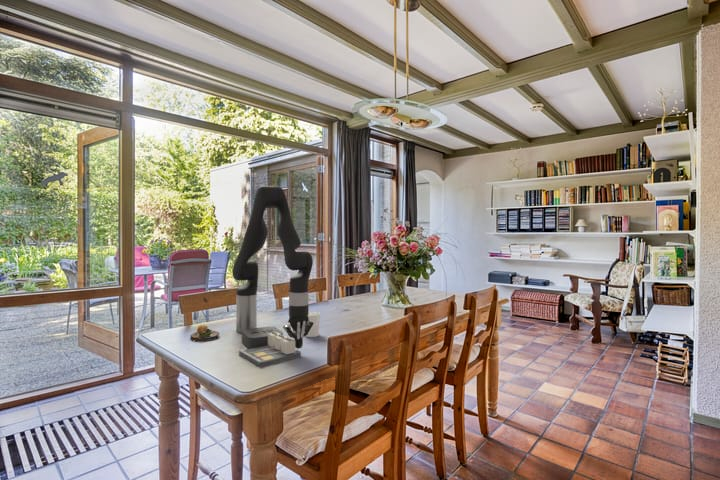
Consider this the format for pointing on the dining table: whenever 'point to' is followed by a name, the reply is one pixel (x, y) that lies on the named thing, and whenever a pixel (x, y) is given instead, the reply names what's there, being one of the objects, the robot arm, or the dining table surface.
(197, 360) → the dining table surface
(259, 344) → the streaming box
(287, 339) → the cream striped block
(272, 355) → the switch board
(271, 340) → the tab
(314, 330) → the white cup
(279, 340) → the tab
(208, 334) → the wood slice table decoration
